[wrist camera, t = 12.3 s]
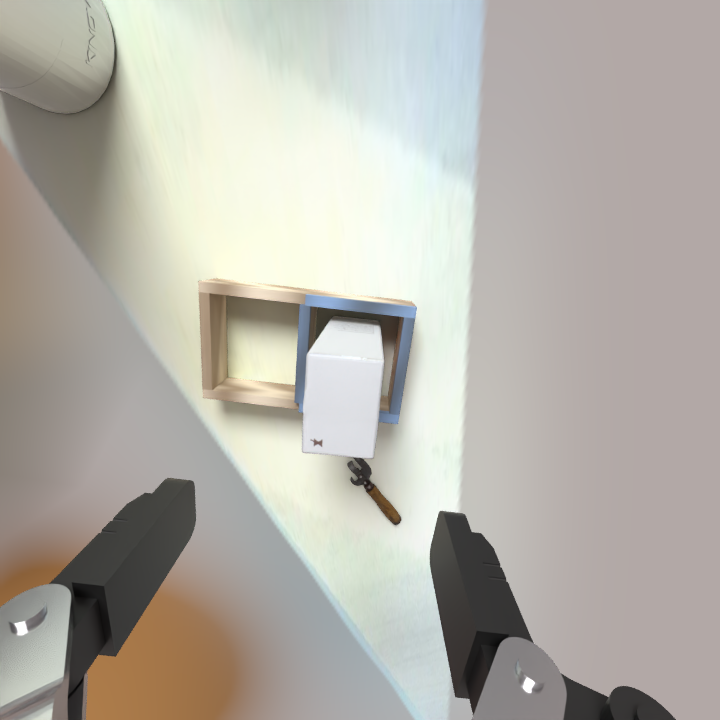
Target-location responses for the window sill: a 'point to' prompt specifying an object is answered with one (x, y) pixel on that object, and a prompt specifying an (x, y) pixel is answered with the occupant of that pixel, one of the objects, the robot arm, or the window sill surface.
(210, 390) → the organiser
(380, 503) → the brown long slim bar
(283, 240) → the window sill surface
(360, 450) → the skincare box
